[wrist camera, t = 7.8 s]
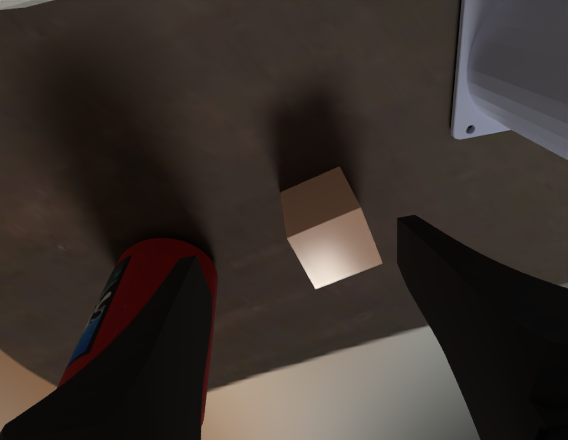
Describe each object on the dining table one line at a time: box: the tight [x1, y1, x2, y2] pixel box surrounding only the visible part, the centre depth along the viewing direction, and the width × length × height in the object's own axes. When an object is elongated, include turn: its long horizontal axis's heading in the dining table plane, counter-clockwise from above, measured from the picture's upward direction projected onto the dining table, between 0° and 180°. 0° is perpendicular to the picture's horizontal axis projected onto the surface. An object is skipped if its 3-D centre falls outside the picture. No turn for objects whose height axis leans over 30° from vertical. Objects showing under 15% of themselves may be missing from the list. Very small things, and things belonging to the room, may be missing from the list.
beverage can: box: [57, 238, 218, 426], centre depth 20 cm, size 7×7×12 cm
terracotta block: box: [280, 166, 382, 289], centre depth 22 cm, size 4×4×5 cm
